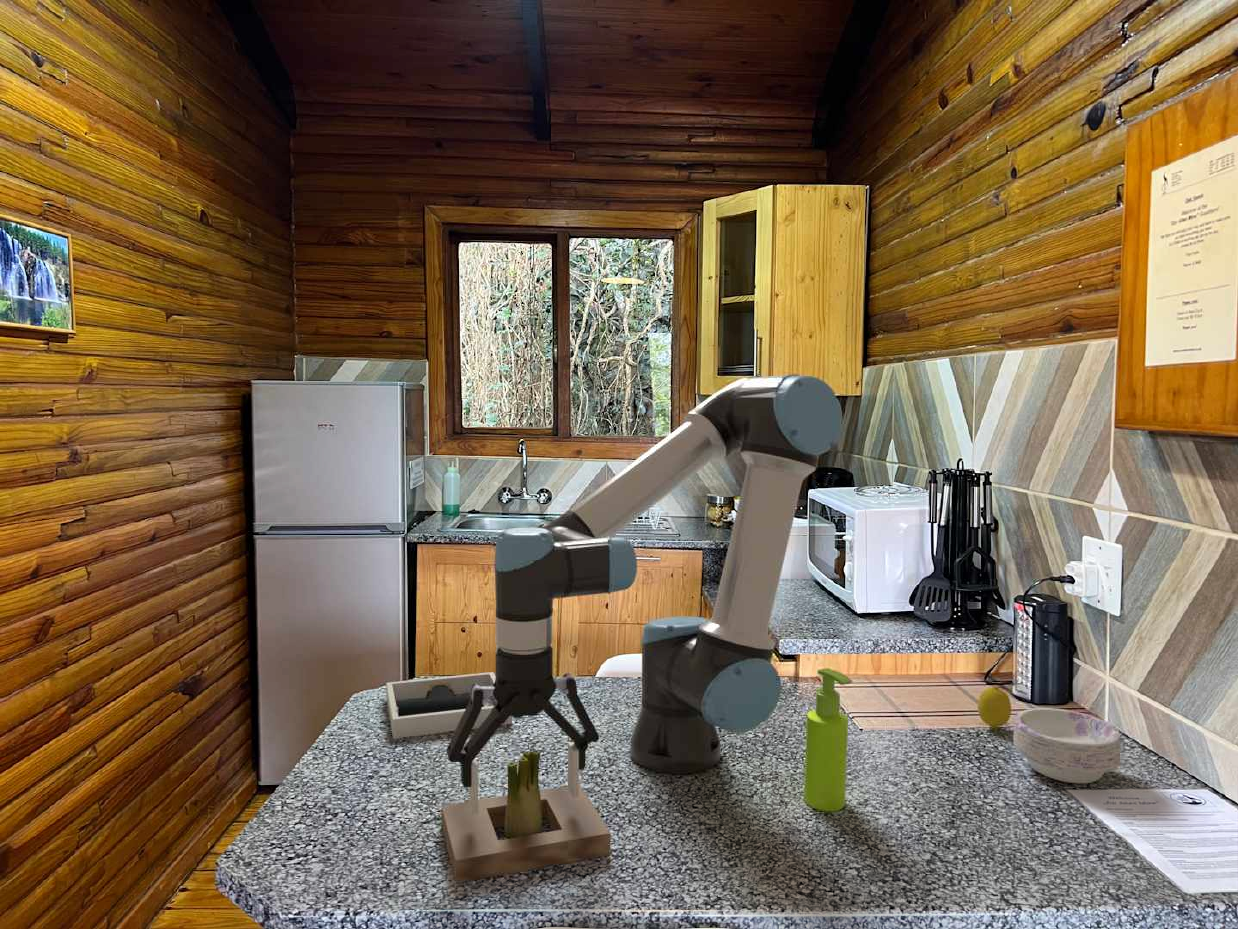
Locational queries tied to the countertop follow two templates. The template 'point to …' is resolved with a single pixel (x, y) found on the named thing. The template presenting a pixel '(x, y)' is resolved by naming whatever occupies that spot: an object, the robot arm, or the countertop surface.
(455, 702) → the pipe connector
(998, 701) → the lemon
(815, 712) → the soap dispenser
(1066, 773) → the paper bowls
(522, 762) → the fennel bulb
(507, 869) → the jig block
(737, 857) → the countertop surface
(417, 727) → the parts tray
